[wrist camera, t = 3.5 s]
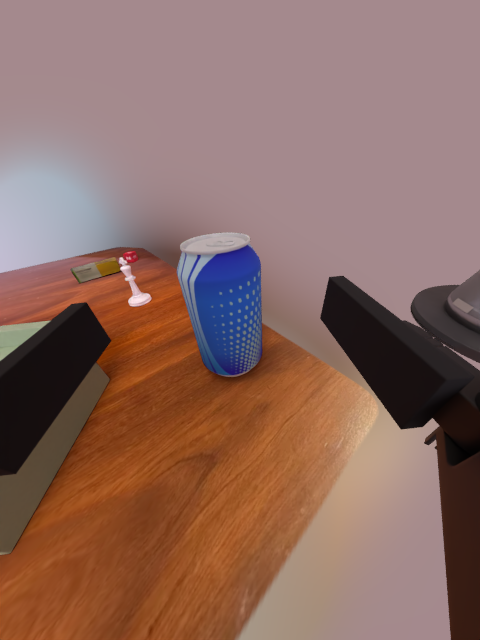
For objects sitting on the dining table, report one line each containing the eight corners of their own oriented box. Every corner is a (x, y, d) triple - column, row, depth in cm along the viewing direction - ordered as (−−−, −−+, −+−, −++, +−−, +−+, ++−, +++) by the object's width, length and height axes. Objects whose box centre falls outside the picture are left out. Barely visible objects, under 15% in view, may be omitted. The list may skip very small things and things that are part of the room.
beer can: (226, 394, 22) (197, 262, 13) (193, 356, 28) (156, 244, 18) (274, 357, 26) (279, 236, 17) (237, 330, 32) (225, 227, 22)
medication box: (78, 284, 55) (70, 271, 53) (78, 280, 57) (69, 268, 54) (122, 271, 61) (116, 259, 58) (120, 268, 62) (114, 256, 60)
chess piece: (142, 307, 41) (121, 262, 35) (124, 305, 42) (101, 261, 36) (156, 296, 45) (139, 254, 39) (139, 295, 46) (120, 253, 40)
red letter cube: (138, 259, 70) (135, 251, 69) (134, 262, 68) (130, 253, 66) (131, 259, 71) (127, 251, 69) (126, 262, 68) (122, 254, 67)
